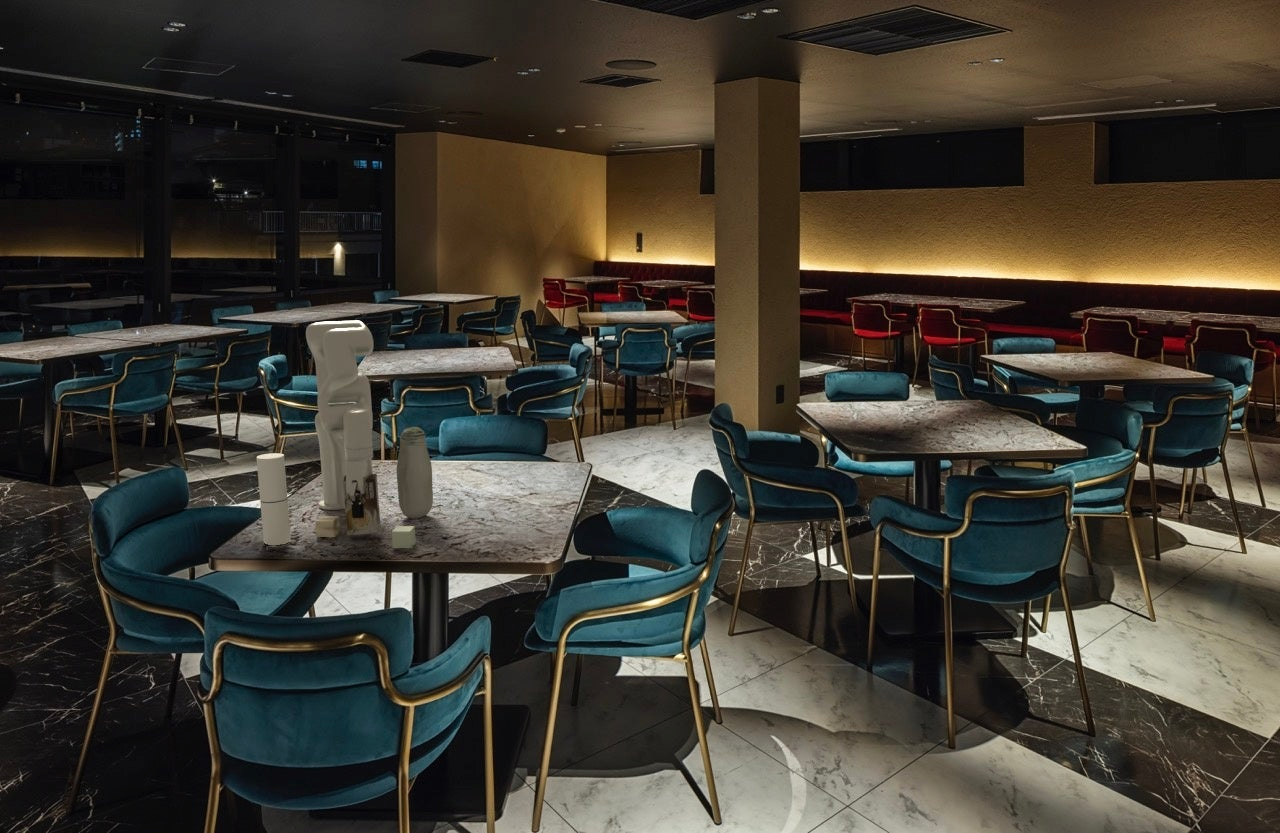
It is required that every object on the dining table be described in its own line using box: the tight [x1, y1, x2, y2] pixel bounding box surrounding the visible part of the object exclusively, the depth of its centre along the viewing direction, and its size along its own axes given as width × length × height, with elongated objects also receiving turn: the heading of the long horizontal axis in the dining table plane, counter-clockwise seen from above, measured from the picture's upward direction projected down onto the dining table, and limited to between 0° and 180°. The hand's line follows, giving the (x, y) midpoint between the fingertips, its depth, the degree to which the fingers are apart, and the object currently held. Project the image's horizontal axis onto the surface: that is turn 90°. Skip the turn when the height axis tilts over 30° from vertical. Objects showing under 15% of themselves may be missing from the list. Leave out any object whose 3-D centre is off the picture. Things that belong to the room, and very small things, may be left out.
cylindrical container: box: [256, 452, 292, 545], centre depth 263 cm, size 7×7×25 cm
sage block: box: [391, 525, 417, 549], centre depth 260 cm, size 5×5×5 cm
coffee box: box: [343, 473, 382, 536], centre depth 266 cm, size 9×6×16 cm
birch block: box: [315, 515, 341, 538], centre depth 271 cm, size 5×5×5 cm
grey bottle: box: [396, 426, 434, 520], centre depth 286 cm, size 10×10×28 cm
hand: (362, 513), depth 266 cm, fingers closed on coffee box, 7 cm apart
